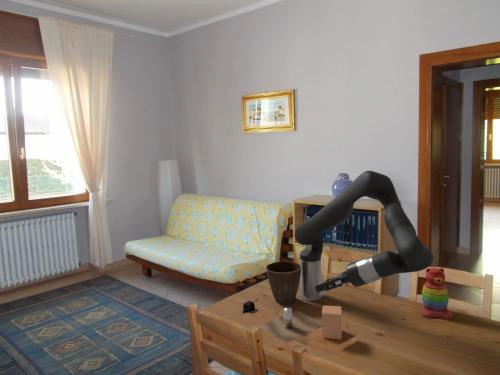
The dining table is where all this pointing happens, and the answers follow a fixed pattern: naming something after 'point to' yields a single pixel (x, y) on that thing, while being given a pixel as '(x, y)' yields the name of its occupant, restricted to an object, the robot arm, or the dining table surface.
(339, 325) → the pink rectangular block
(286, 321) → the steel post
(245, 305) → the black faceted lump
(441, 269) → the stacking bear
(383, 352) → the dining table surface
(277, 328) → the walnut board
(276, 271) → the plant pot
